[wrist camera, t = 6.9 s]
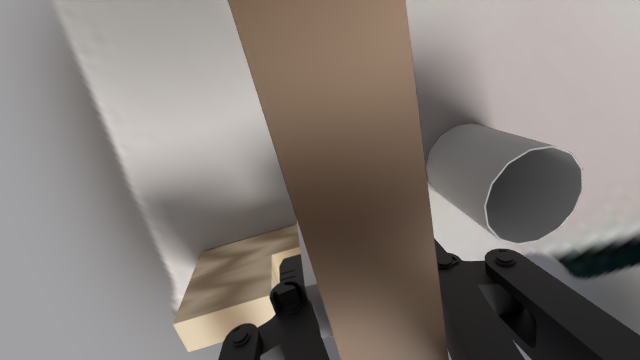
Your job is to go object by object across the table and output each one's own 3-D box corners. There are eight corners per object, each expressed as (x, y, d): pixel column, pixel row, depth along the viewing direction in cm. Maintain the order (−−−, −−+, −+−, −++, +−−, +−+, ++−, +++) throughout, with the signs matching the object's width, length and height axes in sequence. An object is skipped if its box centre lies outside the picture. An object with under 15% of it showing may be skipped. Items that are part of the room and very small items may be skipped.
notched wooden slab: (211, 274, 34) (188, 352, 25) (201, 252, 33) (172, 324, 24) (385, 223, 35) (426, 279, 26) (380, 199, 34) (421, 249, 25)
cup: (443, 210, 36) (503, 261, 26) (413, 152, 33) (468, 186, 23) (508, 170, 35) (593, 208, 26) (483, 108, 32) (569, 124, 23)
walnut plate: (372, 253, 20) (456, 427, 10) (326, 267, 20) (370, 453, 10) (295, -99, 13) (344, -504, 4) (224, -81, 13) (86, -447, 3)
